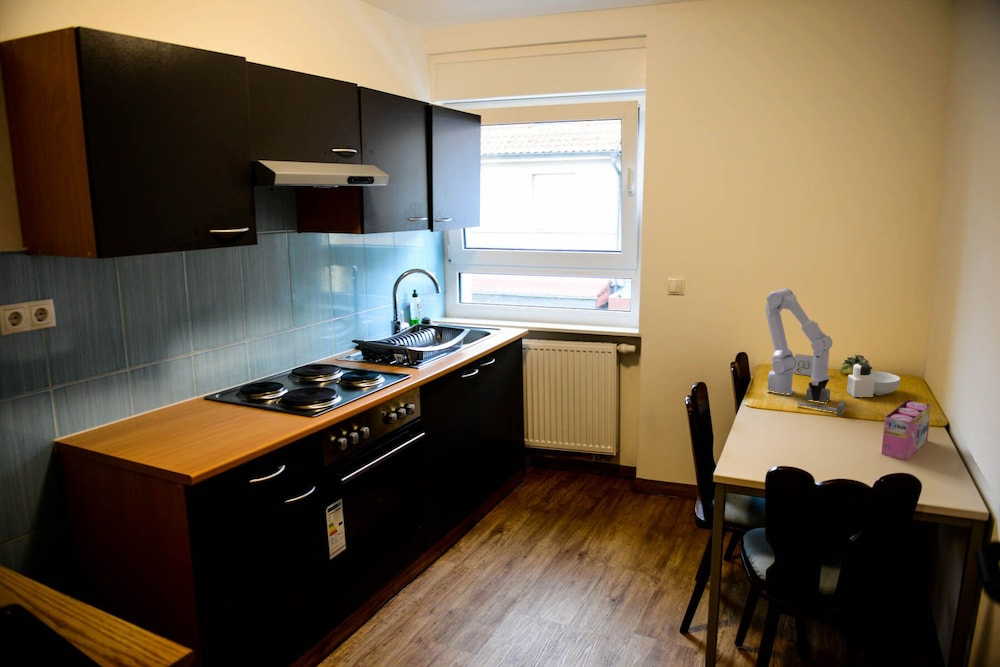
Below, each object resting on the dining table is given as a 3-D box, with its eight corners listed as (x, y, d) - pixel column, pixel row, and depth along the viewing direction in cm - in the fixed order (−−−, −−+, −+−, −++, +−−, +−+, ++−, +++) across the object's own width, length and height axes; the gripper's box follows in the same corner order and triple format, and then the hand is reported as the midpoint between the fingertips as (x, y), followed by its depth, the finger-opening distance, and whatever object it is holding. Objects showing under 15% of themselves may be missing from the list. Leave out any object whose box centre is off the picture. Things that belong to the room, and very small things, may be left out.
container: (865, 391, 300) (868, 362, 297) (873, 397, 293) (876, 367, 290) (846, 392, 301) (849, 362, 298) (853, 397, 294) (856, 367, 291)
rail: (795, 409, 284) (796, 399, 283) (800, 404, 289) (800, 394, 288) (840, 416, 274) (841, 406, 273) (844, 411, 280) (845, 401, 279)
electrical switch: (792, 373, 329) (794, 354, 327) (795, 372, 333) (797, 352, 331) (813, 377, 323) (815, 356, 322) (816, 375, 327) (818, 355, 326)
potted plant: (856, 384, 328) (875, 364, 324) (856, 386, 318) (875, 366, 314) (836, 368, 332) (854, 348, 328) (834, 370, 322) (853, 350, 318)
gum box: (904, 434, 255) (908, 398, 252) (929, 439, 250) (933, 403, 246) (880, 454, 239) (884, 416, 236) (906, 460, 234) (910, 421, 230)
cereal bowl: (875, 384, 310) (876, 368, 308) (908, 395, 295) (909, 379, 293) (844, 389, 305) (845, 373, 303) (876, 401, 289) (877, 384, 288)
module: (805, 401, 292) (806, 387, 291) (808, 397, 296) (809, 384, 295) (826, 404, 288) (827, 391, 286) (829, 400, 292) (830, 387, 290)
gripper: (826, 371, 281) (824, 404, 284) (834, 362, 292) (832, 394, 295) (807, 368, 285) (805, 401, 288) (816, 360, 296) (814, 391, 299)
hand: (817, 397), depth 292 cm, fingers open, 7 cm apart
